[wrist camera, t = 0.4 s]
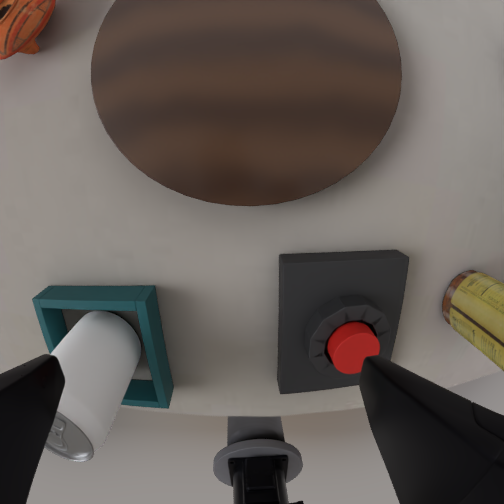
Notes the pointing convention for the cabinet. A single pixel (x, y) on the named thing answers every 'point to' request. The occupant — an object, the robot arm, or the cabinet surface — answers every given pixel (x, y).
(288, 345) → the button panel
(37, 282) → the cabinet surface
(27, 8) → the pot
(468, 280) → the sauce bottle
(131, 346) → the can
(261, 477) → the robot arm
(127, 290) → the teal square frame
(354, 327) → the red button
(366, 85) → the round wooden coaster
